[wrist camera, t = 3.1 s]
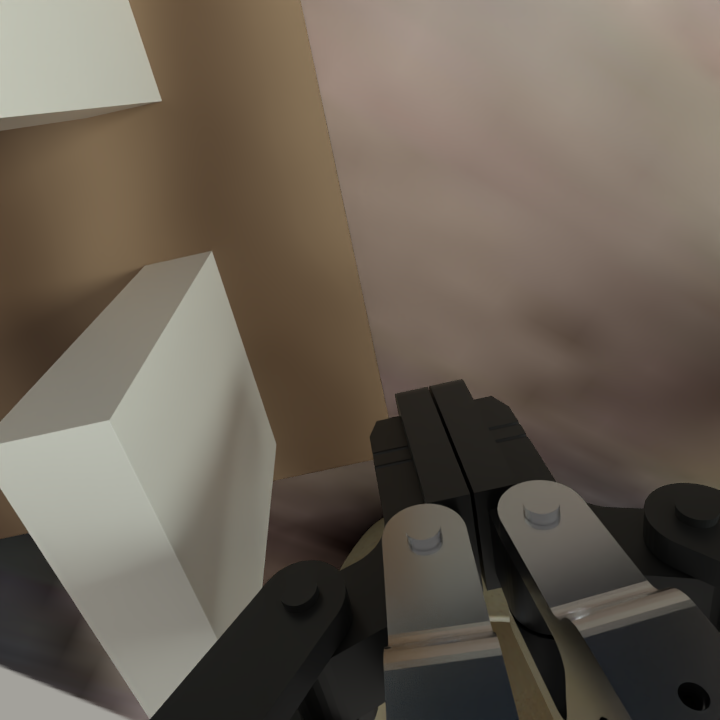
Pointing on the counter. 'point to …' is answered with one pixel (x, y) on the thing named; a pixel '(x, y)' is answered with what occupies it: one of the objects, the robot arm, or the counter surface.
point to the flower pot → (523, 684)
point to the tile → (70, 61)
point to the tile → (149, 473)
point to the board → (200, 223)
